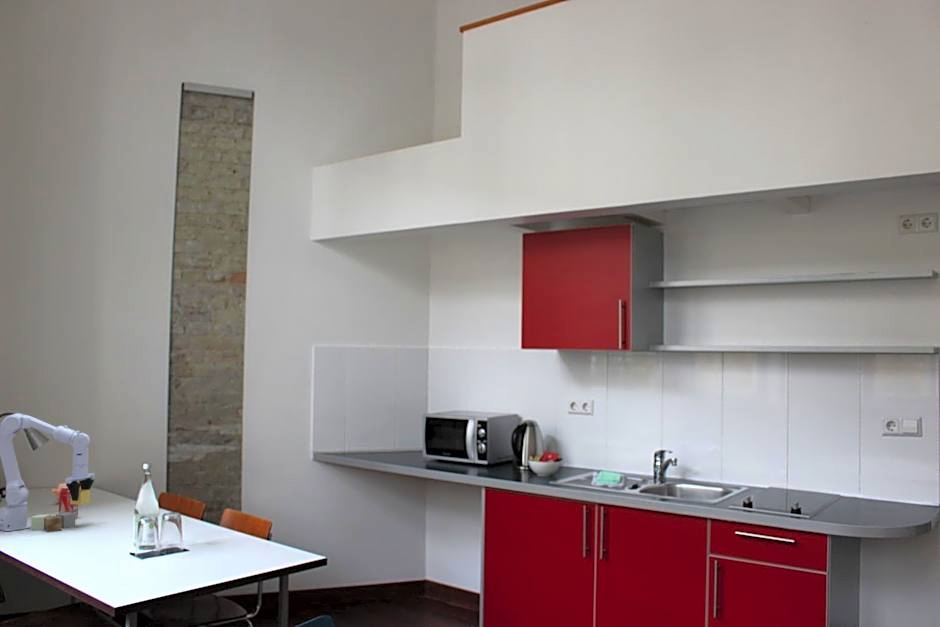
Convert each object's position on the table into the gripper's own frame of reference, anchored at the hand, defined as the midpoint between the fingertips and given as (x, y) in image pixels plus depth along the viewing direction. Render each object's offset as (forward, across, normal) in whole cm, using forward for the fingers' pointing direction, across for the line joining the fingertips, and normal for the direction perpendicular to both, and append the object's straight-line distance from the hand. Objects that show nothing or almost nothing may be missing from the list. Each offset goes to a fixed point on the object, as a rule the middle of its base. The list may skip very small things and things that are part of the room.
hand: (79, 499), depth 345 cm
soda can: (+11, +11, +14) cm, 21 cm away
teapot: (+11, +40, +38) cm, 56 cm away
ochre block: (+2, 0, 0) cm, 2 cm away
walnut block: (+10, -10, +4) cm, 15 cm away
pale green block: (+10, -8, +11) cm, 17 cm away
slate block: (+10, -2, +4) cm, 12 cm away
